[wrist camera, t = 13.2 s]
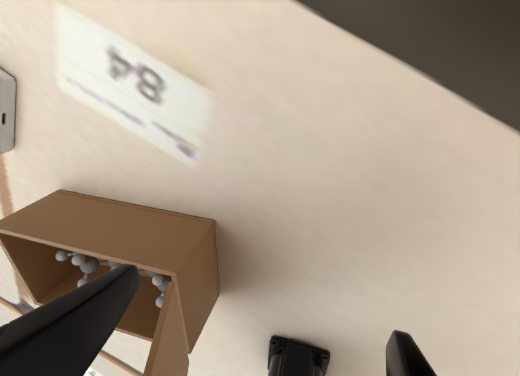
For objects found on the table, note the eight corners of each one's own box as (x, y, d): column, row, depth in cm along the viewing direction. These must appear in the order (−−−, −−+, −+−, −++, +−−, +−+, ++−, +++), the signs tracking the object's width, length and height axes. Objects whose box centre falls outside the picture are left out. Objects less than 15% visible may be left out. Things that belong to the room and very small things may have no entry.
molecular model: (89, 249, 30) (48, 282, 26) (79, 219, 28) (33, 251, 24) (198, 279, 28) (172, 322, 24) (196, 249, 26) (167, 290, 21)
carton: (214, 219, 24) (176, 273, 18) (219, 294, 29) (190, 354, 23) (58, 189, 28) (-12, 225, 22) (86, 260, 33) (34, 304, 27)
